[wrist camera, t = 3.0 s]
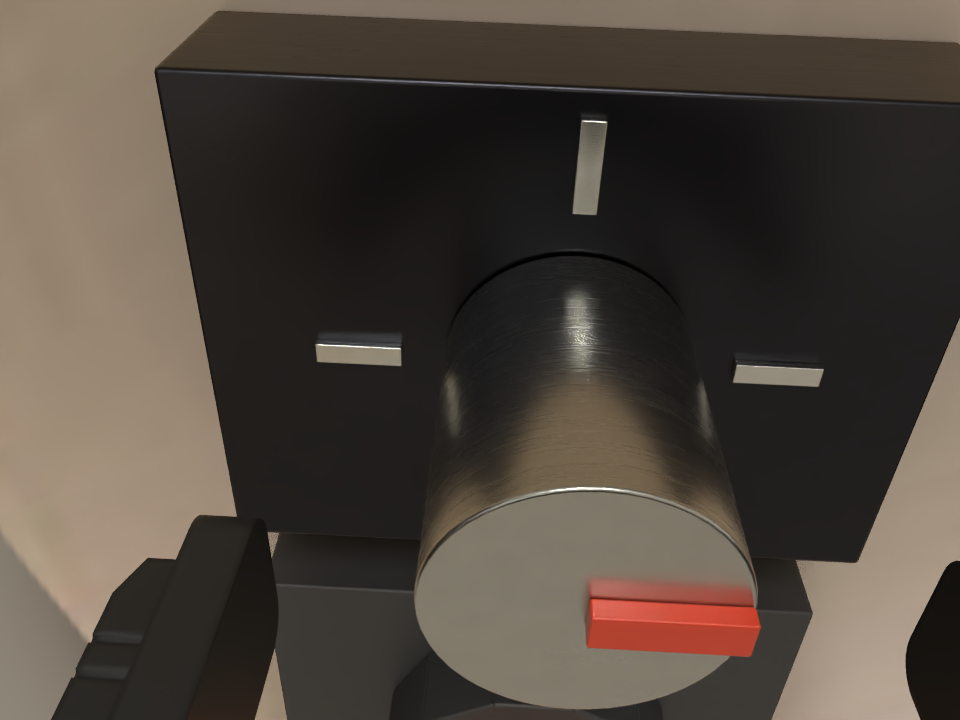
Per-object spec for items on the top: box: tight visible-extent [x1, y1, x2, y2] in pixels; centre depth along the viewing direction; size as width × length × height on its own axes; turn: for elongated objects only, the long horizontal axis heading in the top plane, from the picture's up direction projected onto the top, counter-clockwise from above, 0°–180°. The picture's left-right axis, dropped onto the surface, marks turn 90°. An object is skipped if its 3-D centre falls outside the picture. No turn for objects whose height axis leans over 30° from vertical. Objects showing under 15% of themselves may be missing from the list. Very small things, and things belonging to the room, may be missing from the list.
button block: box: [272, 533, 813, 720], centre depth 22 cm, size 12×9×4 cm
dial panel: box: [155, 11, 960, 563], centre depth 16 cm, size 12×9×3 cm
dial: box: [414, 256, 761, 709], centre depth 12 cm, size 4×4×5 cm
